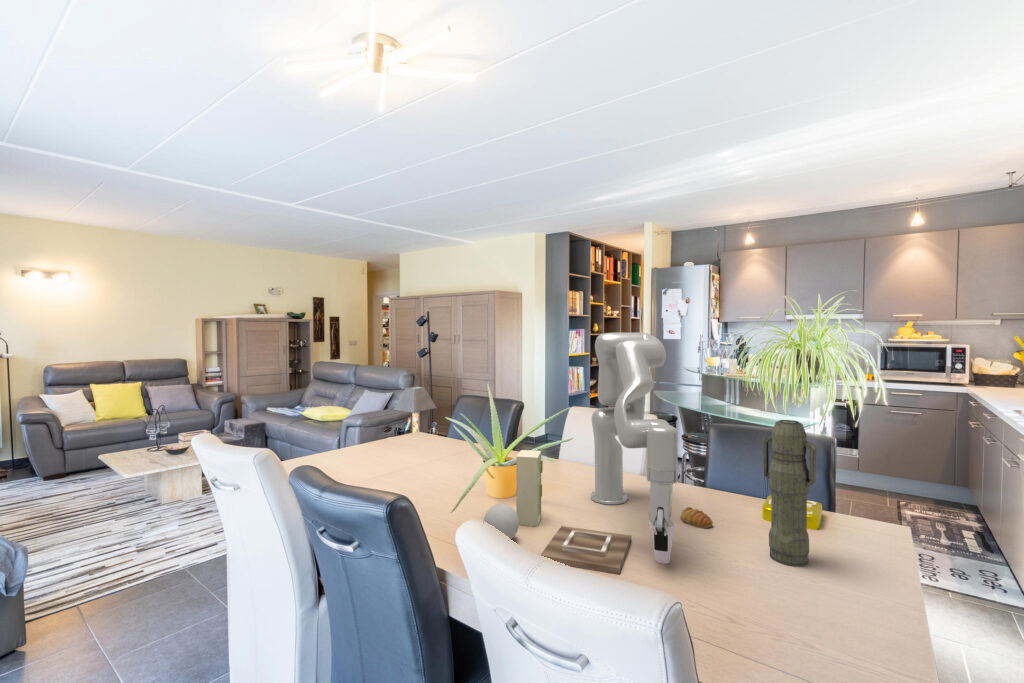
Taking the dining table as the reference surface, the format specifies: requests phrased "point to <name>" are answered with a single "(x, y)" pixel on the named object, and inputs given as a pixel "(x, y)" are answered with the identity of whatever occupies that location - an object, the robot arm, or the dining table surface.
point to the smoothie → (665, 556)
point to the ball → (503, 519)
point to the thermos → (789, 492)
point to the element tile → (812, 513)
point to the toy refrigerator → (529, 487)
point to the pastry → (696, 518)
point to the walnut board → (588, 549)
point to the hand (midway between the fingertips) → (662, 544)
